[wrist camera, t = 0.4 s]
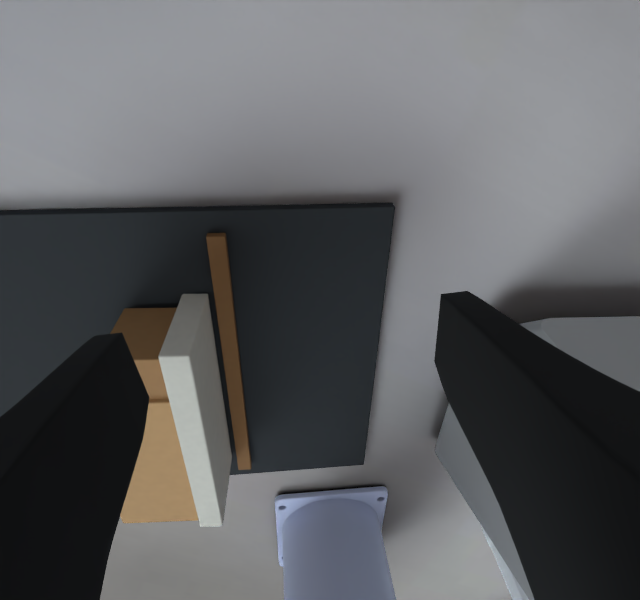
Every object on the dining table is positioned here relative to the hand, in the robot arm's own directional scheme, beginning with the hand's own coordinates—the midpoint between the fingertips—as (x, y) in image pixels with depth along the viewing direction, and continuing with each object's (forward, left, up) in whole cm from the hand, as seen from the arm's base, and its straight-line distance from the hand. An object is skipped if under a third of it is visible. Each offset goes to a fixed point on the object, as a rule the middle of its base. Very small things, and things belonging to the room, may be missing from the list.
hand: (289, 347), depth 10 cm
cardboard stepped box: (-10, +6, -10) cm, 16 cm away
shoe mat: (-9, +6, -10) cm, 15 cm away
